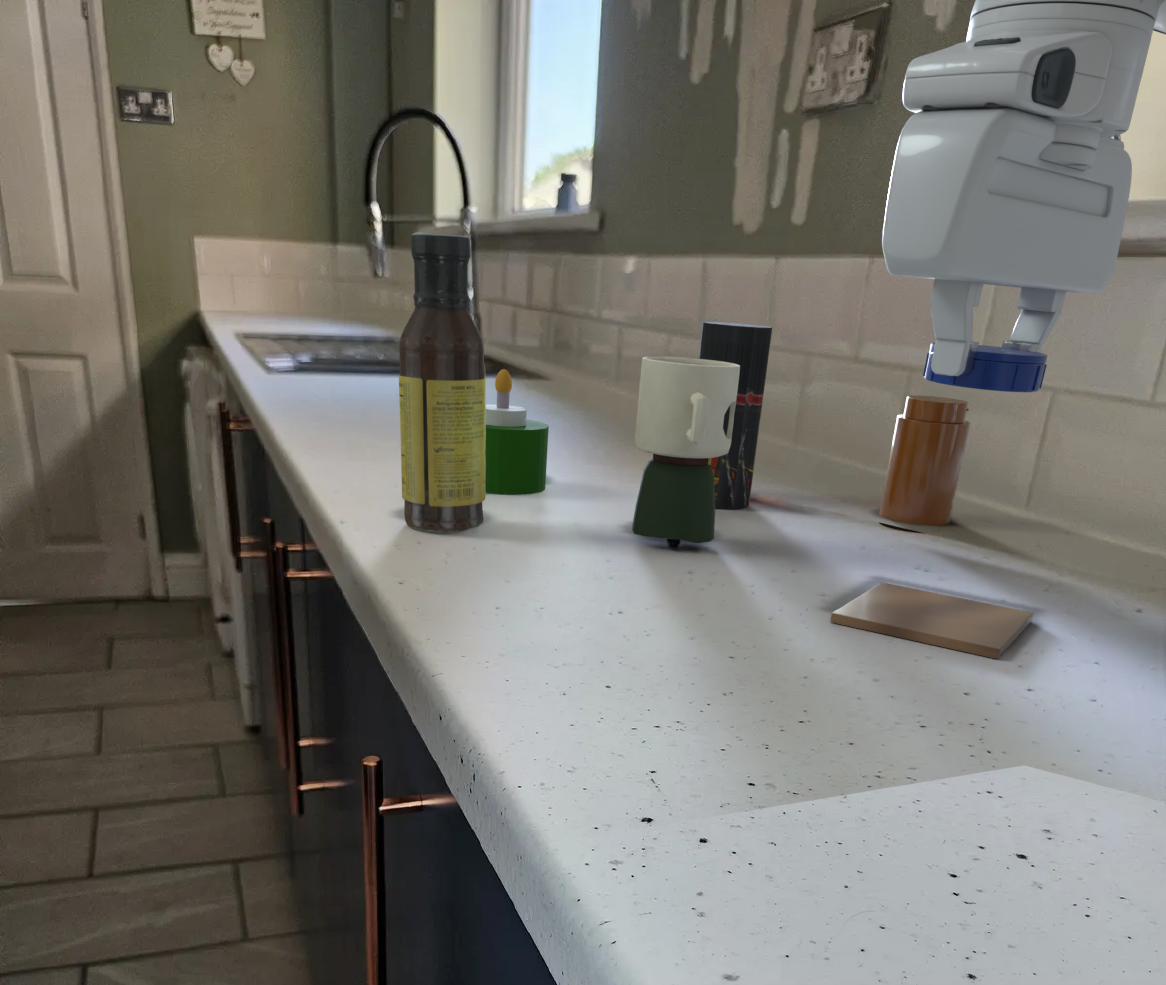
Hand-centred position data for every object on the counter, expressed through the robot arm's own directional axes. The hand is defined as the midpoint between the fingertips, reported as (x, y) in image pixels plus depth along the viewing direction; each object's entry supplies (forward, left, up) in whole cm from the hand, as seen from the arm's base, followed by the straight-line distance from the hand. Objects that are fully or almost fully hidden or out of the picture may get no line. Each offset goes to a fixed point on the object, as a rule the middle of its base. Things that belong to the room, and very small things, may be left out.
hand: (983, 374), depth 62 cm
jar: (+17, -26, -15) cm, 34 cm away
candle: (+46, -3, -15) cm, 48 cm away
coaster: (0, 0, -15) cm, 15 cm away
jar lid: (0, 0, +1) cm, 1 cm away
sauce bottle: (+35, +12, -15) cm, 40 cm away
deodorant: (+32, -17, -15) cm, 39 cm away
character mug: (+23, -1, -15) cm, 27 cm away
